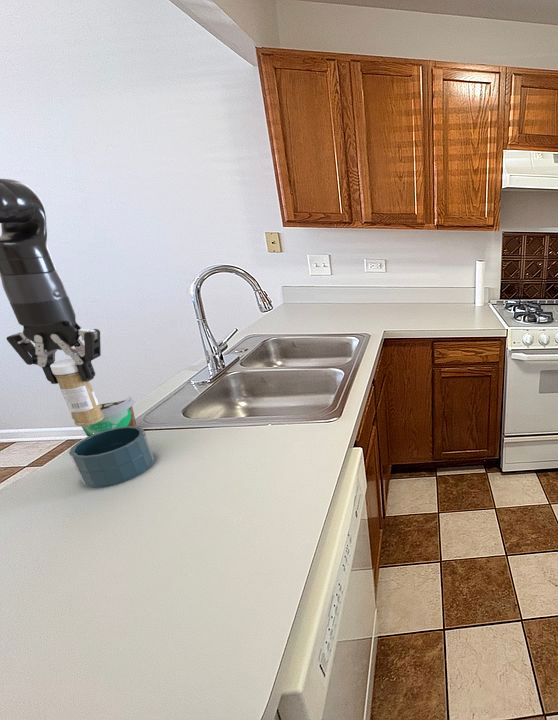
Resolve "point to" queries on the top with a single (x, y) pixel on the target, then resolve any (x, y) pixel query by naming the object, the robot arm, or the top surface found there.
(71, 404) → the sprinkles bottle
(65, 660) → the top surface
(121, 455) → the pot
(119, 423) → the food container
